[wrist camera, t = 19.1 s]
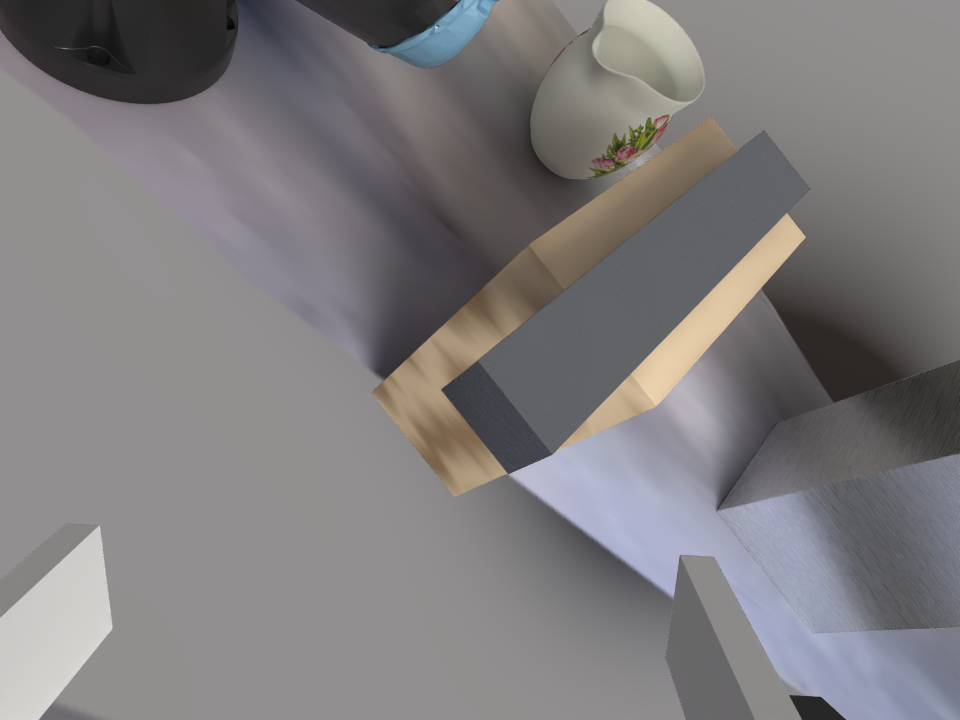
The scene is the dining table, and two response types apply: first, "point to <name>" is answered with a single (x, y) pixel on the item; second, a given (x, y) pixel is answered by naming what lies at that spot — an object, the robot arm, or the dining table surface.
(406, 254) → the dining table surface
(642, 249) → the bar
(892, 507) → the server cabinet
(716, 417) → the dining table surface
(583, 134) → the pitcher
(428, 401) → the oak side stand
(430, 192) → the dining table surface
